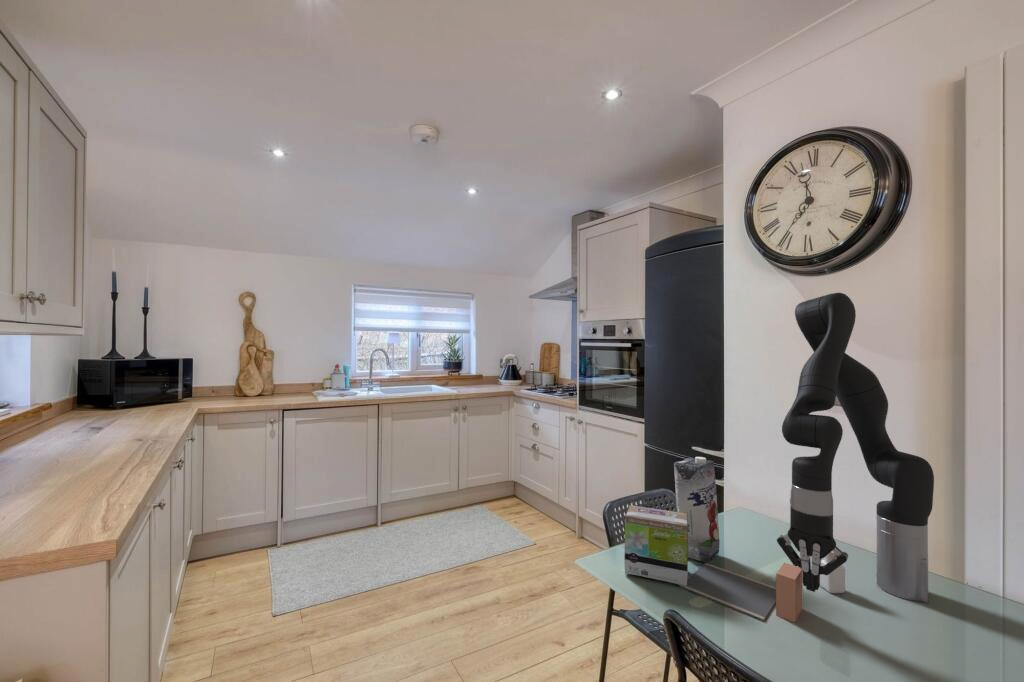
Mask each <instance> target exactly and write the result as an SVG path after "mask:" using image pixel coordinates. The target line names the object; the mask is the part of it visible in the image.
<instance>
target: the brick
mask: <svg viewBox="0 0 1024 682" xmlns="http://www.w3.org/2000/svg"><path fill="white" fill-rule="evenodd" d="M775 580H776V581H775V587H776V603H775V615H776V616H777V617H779V618H782V619H785V620H787V621H790V622H791V623H792V622H793V623H796V621H797V620H798V619H799V616H800V614H801V613H802V610H803V571H802V569H801V568H800V567H798V566H794V565H793V564H790V563H787V562H783V564H782V565H781V567H780V568H779V569H778V570H777V572H776V575H775Z"/></svg>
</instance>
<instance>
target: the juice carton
mask: <svg viewBox="0 0 1024 682" xmlns="http://www.w3.org/2000/svg"><path fill="white" fill-rule="evenodd" d="M673 468H674V485H675V504H676V506H675V507H676V512H680V513H687V521H688V559H692V560H696V561H699V562H703V563H708V562H709V561H710V560H711V559H712V558H713V557H716V556H717V555H718V554H719V552H720V544H721V543H720V542H721V541H720V530H719V528H720V527H719V513H718V512H719V511H718V497H717V485H716V483H717V482H716V472H715V471H716V470H715V461H714V460H709V459H708V460H707V458H706V457H704V456H695V458H693V457H692V458H691V457H687V458H685V459H684V460H681V461H674V463H673Z"/></svg>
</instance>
